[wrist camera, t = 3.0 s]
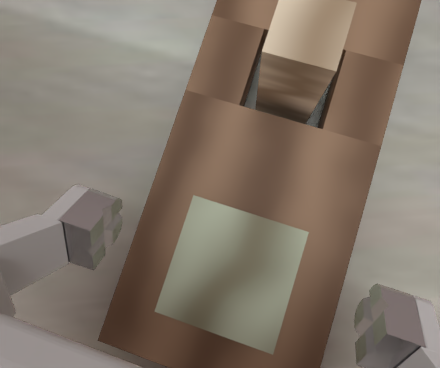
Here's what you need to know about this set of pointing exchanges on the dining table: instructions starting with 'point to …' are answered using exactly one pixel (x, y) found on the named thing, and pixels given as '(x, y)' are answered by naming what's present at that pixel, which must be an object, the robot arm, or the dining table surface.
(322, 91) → the maple block
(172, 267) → the puzzle board
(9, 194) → the dining table surface
